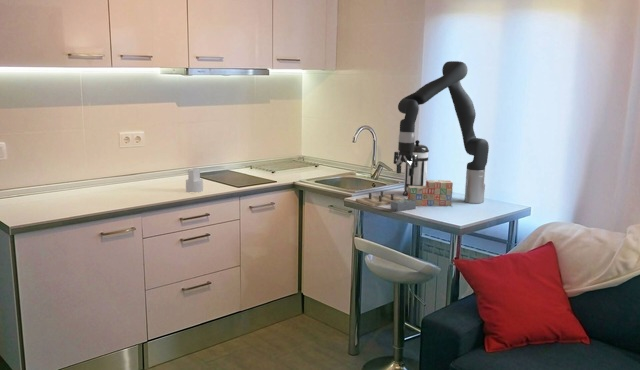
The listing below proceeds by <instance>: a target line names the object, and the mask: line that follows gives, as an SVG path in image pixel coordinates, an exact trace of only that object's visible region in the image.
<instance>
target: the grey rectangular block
mask: <svg viewBox="0 0 640 370" xmlns="http://www.w3.org/2000/svg"><path fill="white" fill-rule="evenodd" d="M416 209H417V206H416V200H412V199H408V198H403V200H396V201H391V204H390V211H393V212H396V213H399V212H404V211H405V212H406V211H412V210H416Z"/></svg>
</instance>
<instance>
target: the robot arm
mask: <svg viewBox="0 0 640 370" xmlns="http://www.w3.org/2000/svg"><path fill="white" fill-rule="evenodd" d="M441 71H442V75H441V76H440V77H438V78H435V79H433V80H432V81H430V82H429V81H428V82H427V83H426V84H424V85H422V87H420V88H419V89H417V90H416V91H415V92H413V93H411V94H409V95H407V96H404V97H403V98H402V99H401V100H400V101H399V102H398V104H397V109H398V112H399V113H401V114H404V118H403V119H401V120H400V123H399V134H398V142H397V143H398V144H397V145H398V147H397V148H398V149H397V150H398V151H394V155H393V165H395V166H396V174H401V173H402V165H403V163H404V164H405V163H407V164H408V165H409V176H413V174H414V168H416V167H418V155H413V151H414V144H415V141H416V140H415V137H416V136H415V129H416V128H415V127H416V121H417V117H418V114H419V111H420V106H419V105H421V106H422V105H424V104H426V103H427V102H429V101H430V100H431V99H432V98H434V97H435V96H436V95H438V94H440V93H441V92H442V91H443V90H445V89H447V88H448V91H449V93H450V98H451V100H452V103H453V106H454V107H453V109H454V110H455V114H456V117H457V121H458V123H459V127H460V132H461V134H462V135H461V136H462V141H463V146H464V150H465V152H466V154H467V155H469V156H473V158H472V160H471V161H470V162H467V163H466V170H465V171H466V173H465V175H466V176H465V188H464V202H466V203H470V204H482V203H484V201H485V191H486V188H485V187H486V184H485V177H486V176H485V172H486V166H487V163H488V159H489V158H488V157H489V149H490V145H489V142H488V141H487V140H486V139H485V138H479V137H477V136H476V134H475V133H476V132H475V131H474V130H475V129H474V124H475V121H476V108H475V106H474V102H473V100H472V99H471V97H470V95H468V93H467V92H466V90H465V89H464V88H463V85H462V83H461V81H463V79H465V78H466V77H467V75H468V66H467V64H466V63H464V62H462V61H458V60H456V61H455V60H454V61H452V60H451V61H446V62H444V63H443V66H442V69H441ZM410 161H411V162H410ZM411 165H412V166H411Z"/></svg>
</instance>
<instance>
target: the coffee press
mask: <svg viewBox="0 0 640 370" xmlns="http://www.w3.org/2000/svg"><path fill="white" fill-rule="evenodd" d="M429 152H430V150H429V148H428V146H426V145H425V144H420V140H419V139H417V140H414V151H413V155H418V167H416V168H414V174H413V176H409V165H408V164H407V163H405V162H404V180H403V182H404V183H403V190H404V191H403V192H402V195H403V196H408V186H426V180H428V179H427V178H428V161H429ZM410 162H411V161H410ZM411 166H412V165H411Z"/></svg>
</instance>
